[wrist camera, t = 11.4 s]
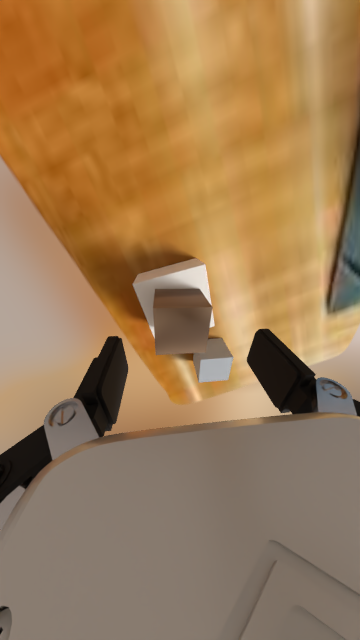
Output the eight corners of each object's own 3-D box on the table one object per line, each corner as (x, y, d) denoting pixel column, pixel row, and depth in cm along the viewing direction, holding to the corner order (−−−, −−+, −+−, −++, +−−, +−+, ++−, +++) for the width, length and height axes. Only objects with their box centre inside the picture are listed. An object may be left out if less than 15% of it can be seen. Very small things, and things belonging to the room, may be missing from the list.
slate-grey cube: (194, 339, 27) (200, 359, 23) (221, 337, 28) (233, 357, 23) (193, 360, 29) (198, 382, 25) (218, 358, 30) (228, 379, 26)
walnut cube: (154, 289, 17) (152, 308, 13) (199, 288, 17) (212, 307, 13) (157, 327, 19) (155, 354, 15) (196, 326, 20) (205, 352, 16)
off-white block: (138, 273, 21) (132, 284, 16) (195, 257, 20) (205, 264, 16) (156, 322, 25) (155, 341, 20) (205, 309, 24) (214, 326, 20)
